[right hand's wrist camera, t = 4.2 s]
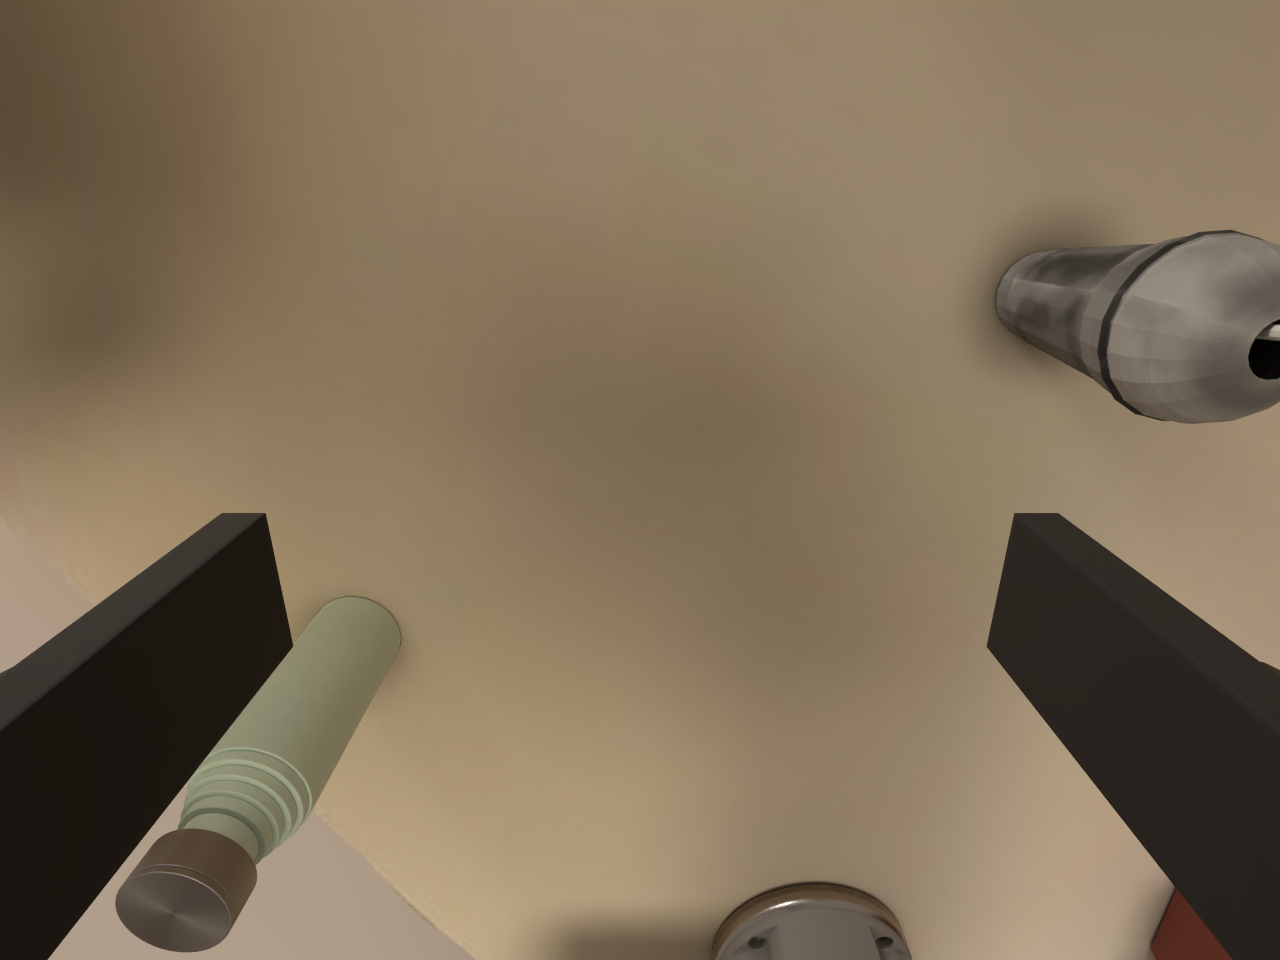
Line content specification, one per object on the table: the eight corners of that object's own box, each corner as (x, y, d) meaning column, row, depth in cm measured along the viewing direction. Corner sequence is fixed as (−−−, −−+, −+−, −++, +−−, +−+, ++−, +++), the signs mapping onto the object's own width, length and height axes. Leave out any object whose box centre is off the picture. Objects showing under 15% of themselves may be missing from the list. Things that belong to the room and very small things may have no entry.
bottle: (403, 604, 45) (250, 862, 27) (398, 675, 47) (251, 960, 29) (314, 589, 45) (100, 843, 27) (313, 663, 47) (112, 943, 29)
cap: (257, 835, 29) (229, 880, 27) (258, 911, 31) (232, 959, 29) (146, 820, 29) (110, 864, 27) (152, 898, 30) (119, 945, 28)
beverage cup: (998, 386, 40) (1314, 546, 21) (948, 270, 38) (1253, 334, 19) (1126, 318, 38) (1584, 425, 20) (1082, 194, 36) (1554, 182, 18)
